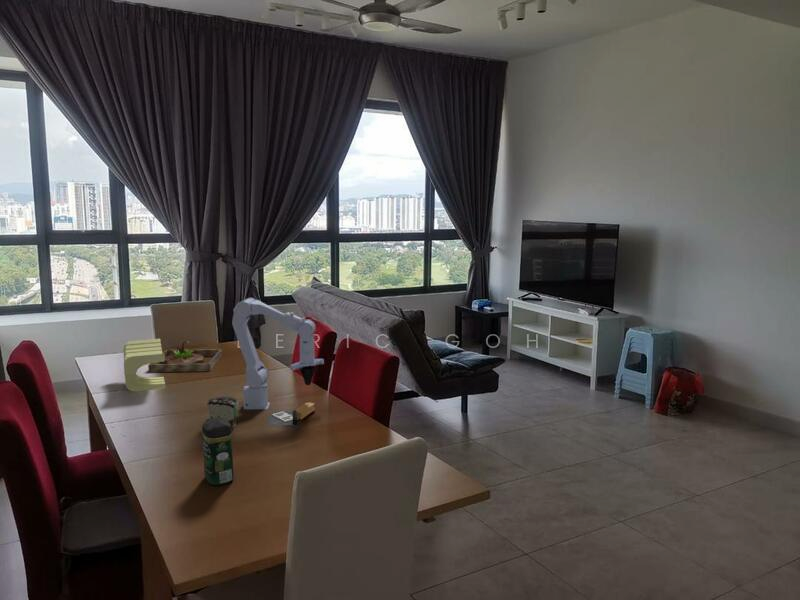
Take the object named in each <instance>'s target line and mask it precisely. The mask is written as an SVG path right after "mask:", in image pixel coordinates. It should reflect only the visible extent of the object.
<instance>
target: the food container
mask: <svg viewBox="0 0 800 600" xmlns="http://www.w3.org/2000/svg"><path fill="white" fill-rule="evenodd" d="M206 406H208V411H209V417H210V418H215V417H220V418H223V419H225V420H227V421H228V422H229V423H230V425H231V429H232V430H234V428H235V427H236V425H237V413H238V412H237V410H238V408H239V407H240V406H239V402H238V400H237V398H235V397H232V396H217V397H213V398H210V399H208V400H207V402H206ZM210 418H209V419H210Z"/></svg>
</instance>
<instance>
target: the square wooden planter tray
mask: <svg viewBox="0 0 800 600" xmlns="http://www.w3.org/2000/svg"><path fill="white" fill-rule="evenodd" d="M188 350H189V351H188V353H189V352H191V351H193V352H192V353H193V354H197V355H202V356H203V357H212V358H211V360H210V361H209V362H207V363H202V364H161V362H156V363H150V364H147V365H148V367H147V368H148V373H165V372H166V373H167V372H168V373H169V372H170V373H171V372H173V373H174V372H211V371H212V370H213V368H214V367H215V366H216V365H217V363H218V362H219V361H220V359H221V358H222V357H223V349H215V348H214V349H213V348H212V349H206V348H205V349H188ZM173 351H176V352H178V349H173V350H171V349H166V350H165V349H164V351H162V354H165V358H166V357H168V356H171V355H172V356H174V355H175V353H174V352H173Z"/></svg>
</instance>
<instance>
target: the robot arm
mask: <svg viewBox="0 0 800 600" xmlns="http://www.w3.org/2000/svg"><path fill="white" fill-rule="evenodd" d="M232 311H233V315H232V321H231V324H232V327H233V331H234V333H235V337H236V339H237V341H238V344H239V348H240V350H241V352H242V356H243V359H244V361H245V364H246V368H245V374H246V384H247V385H244V386H243V392H242V393H243V394H242V396H243V397H242V398H243V410H268V409H269V406H270V404H271V402H269V401H268V400H269V399H268V397H269V395H268V394H269V391H268V382H267V380H268V379H269V377H270V372H269V370H268V369H267V368H266V366H265V365H264V363H263V361H261V360H260V358H259V354H258V352H257V349H256V347H255V343H254V341H253V338H252V335H251V332H250V329H249V326H248V322H249V320H250V319H251V317H252V316H256V315H264V316H266V317H269V318H271V319H274V320H277V321H279V322H280V324H281V326H283V327H285V328H288V329H289V330H291V331H294V332H296V333H297V334H298V335H299V361H297V362H295V363H292V364H290V366H289V367H290V370H291V371H296V370H299V371H300V373H301V375H302V378H303V381H304V382H303V383H304V385H306V386H310V385H311V384H312V380H313V377H314V374H315V373H316V371H317V365H324V364H325V359H324V358H316V355H315V351H316V350H315V333H314V332H316V327H317V326H316V323H315V322H314V321H313V320H312V319H308V318H307V319H306V318H305V317H300V316H297V315H296V314H295V313H294V312H293V311H291V312H288V311H287V312H285V313H284V312H281V310H278V309H276V308H274V307H272V306H270V305H268V304H266V303H265V302H262V301H261V300H259V299H255V298H254V297H248V298H245V299H244V300H242V301H239V302H237V303H236V305H235V306H234V308H233V310H232Z"/></svg>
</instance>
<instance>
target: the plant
mask: <svg viewBox="0 0 800 600" xmlns="http://www.w3.org/2000/svg"><path fill="white" fill-rule="evenodd" d="M189 343H190V342H189V341H188V340H185V341H183V342H182V343H181V348H180V347H179V346H178V345H173V346H171V347H170V350H174V348H177V350H178V352H176V351H173V352H174V353H175V355H174V356H172V355H171V356H168V357H166V358H165V360H164V362H161V363H160V364H205V356H202V355H197V354H193V353H192V352H193V351H191V352H189V353H188V351H189V350H190V349H187V348H186V347H185V344H186V345H189Z"/></svg>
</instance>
